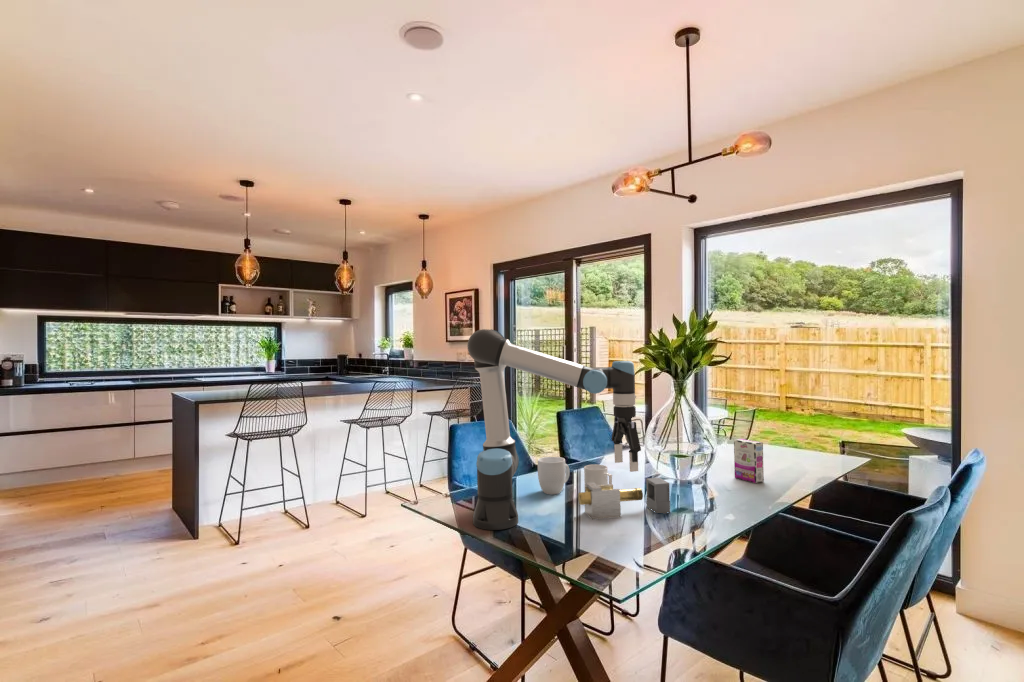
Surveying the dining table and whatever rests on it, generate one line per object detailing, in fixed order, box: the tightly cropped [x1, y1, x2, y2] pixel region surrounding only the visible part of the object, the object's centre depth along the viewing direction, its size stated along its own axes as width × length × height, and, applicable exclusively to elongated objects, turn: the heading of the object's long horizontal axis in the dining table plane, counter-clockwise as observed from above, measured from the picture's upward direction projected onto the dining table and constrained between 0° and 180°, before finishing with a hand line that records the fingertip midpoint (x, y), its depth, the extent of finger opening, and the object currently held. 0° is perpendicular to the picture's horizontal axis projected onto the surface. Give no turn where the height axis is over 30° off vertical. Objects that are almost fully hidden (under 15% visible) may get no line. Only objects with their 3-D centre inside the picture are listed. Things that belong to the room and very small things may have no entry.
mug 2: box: [583, 464, 613, 487], centre depth 205 cm, size 12×9×11 cm
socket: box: [645, 477, 671, 514], centre depth 188 cm, size 5×8×10 cm, turn 10°
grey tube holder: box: [584, 482, 622, 520], centre depth 185 cm, size 10×8×10 cm
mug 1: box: [537, 456, 571, 496], centre depth 214 cm, size 15×11×13 cm
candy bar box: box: [733, 438, 765, 484], centre depth 224 cm, size 11×5×16 cm, turn 25°
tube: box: [577, 487, 644, 506], centre depth 185 cm, size 22×4×4 cm, turn 100°
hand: (626, 466), depth 186 cm, fingers open, 13 cm apart
